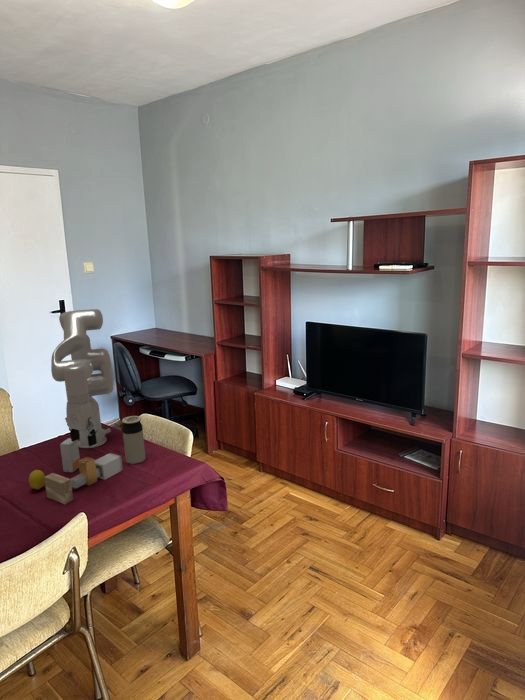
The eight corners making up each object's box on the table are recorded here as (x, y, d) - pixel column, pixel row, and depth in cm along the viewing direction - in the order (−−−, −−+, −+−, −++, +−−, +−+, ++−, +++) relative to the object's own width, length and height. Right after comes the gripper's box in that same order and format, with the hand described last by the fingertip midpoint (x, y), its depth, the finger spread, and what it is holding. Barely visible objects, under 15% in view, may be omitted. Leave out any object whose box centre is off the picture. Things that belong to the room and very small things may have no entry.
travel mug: (148, 456, 209) (144, 415, 204) (140, 464, 201) (136, 423, 197) (130, 455, 210) (126, 415, 206) (122, 463, 202) (117, 422, 198)
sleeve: (111, 466, 200) (110, 452, 199) (122, 470, 197) (121, 456, 196) (93, 476, 193) (91, 461, 192) (104, 479, 190) (102, 465, 188)
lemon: (37, 494, 181) (34, 474, 179) (27, 491, 183) (24, 471, 182) (50, 487, 185) (47, 468, 184) (40, 484, 188) (37, 465, 186)
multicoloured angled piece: (110, 467, 199) (108, 446, 197) (118, 469, 196) (115, 448, 194) (69, 488, 183) (66, 466, 181) (77, 491, 181) (74, 469, 179)
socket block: (55, 492, 181) (52, 472, 180) (73, 499, 176) (70, 479, 174) (47, 497, 179) (44, 476, 177) (64, 504, 173) (61, 483, 171)
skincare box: (73, 472, 197) (69, 444, 194) (63, 472, 197) (59, 444, 195) (81, 465, 202) (77, 438, 200) (71, 465, 203) (68, 437, 200)
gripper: (54, 398, 181) (60, 442, 185) (85, 404, 172) (91, 450, 176) (71, 392, 187) (77, 435, 191) (102, 398, 178) (107, 443, 182)
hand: (84, 442), depth 183 cm, fingers open, 9 cm apart
